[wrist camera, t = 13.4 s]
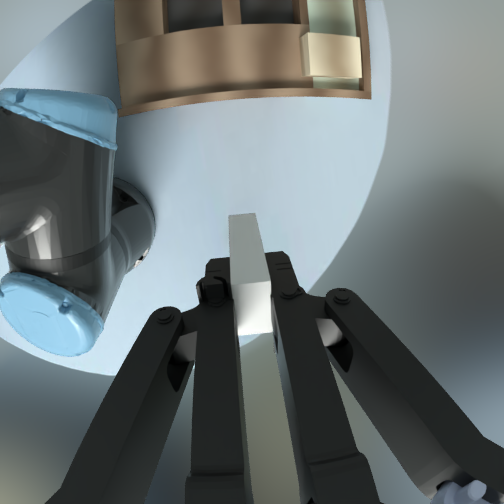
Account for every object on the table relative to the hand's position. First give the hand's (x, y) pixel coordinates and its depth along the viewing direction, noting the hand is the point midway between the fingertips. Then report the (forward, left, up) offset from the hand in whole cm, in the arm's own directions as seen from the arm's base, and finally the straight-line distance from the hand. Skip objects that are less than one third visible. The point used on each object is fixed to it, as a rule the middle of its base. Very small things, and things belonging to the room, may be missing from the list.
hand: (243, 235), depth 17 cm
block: (+12, +12, -20) cm, 27 cm away
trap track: (+2, +16, -24) cm, 30 cm away
